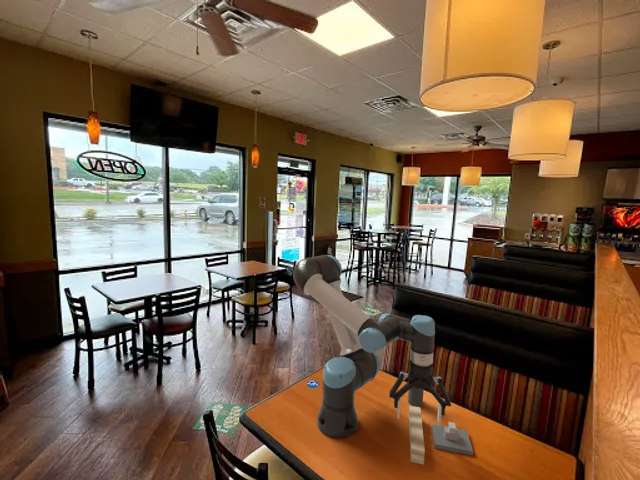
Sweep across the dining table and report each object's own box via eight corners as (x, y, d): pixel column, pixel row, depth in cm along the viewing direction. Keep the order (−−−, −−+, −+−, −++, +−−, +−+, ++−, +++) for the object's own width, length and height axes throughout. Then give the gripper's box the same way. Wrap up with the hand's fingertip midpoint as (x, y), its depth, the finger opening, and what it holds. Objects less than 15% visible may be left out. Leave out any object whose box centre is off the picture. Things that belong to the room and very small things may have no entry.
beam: (423, 465, 101) (424, 451, 100) (410, 462, 102) (411, 448, 101) (419, 419, 122) (420, 407, 121) (408, 417, 123) (409, 405, 122)
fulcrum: (434, 448, 107) (435, 431, 107) (431, 427, 117) (432, 412, 116) (472, 455, 105) (474, 439, 104) (466, 434, 114) (467, 418, 114)
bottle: (423, 407, 128) (425, 373, 126) (408, 405, 130) (410, 371, 128) (421, 399, 134) (424, 365, 132) (407, 397, 135) (409, 363, 133)
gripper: (383, 362, 107) (381, 420, 110) (462, 372, 102) (458, 433, 104) (384, 352, 115) (382, 407, 117) (458, 361, 109) (454, 418, 111)
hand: (418, 419), depth 110 cm, fingers open, 13 cm apart
